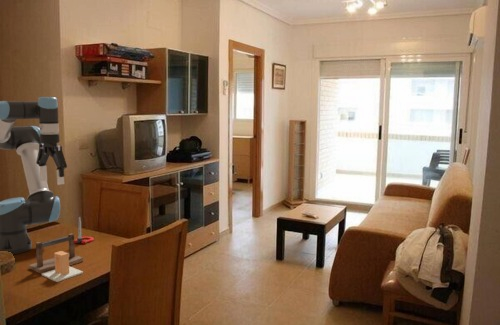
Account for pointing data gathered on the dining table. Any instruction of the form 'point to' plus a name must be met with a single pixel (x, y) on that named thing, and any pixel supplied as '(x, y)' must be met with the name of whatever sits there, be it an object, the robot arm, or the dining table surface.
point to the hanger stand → (50, 263)
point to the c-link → (61, 262)
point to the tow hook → (80, 239)
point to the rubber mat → (59, 277)
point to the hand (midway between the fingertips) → (52, 182)
